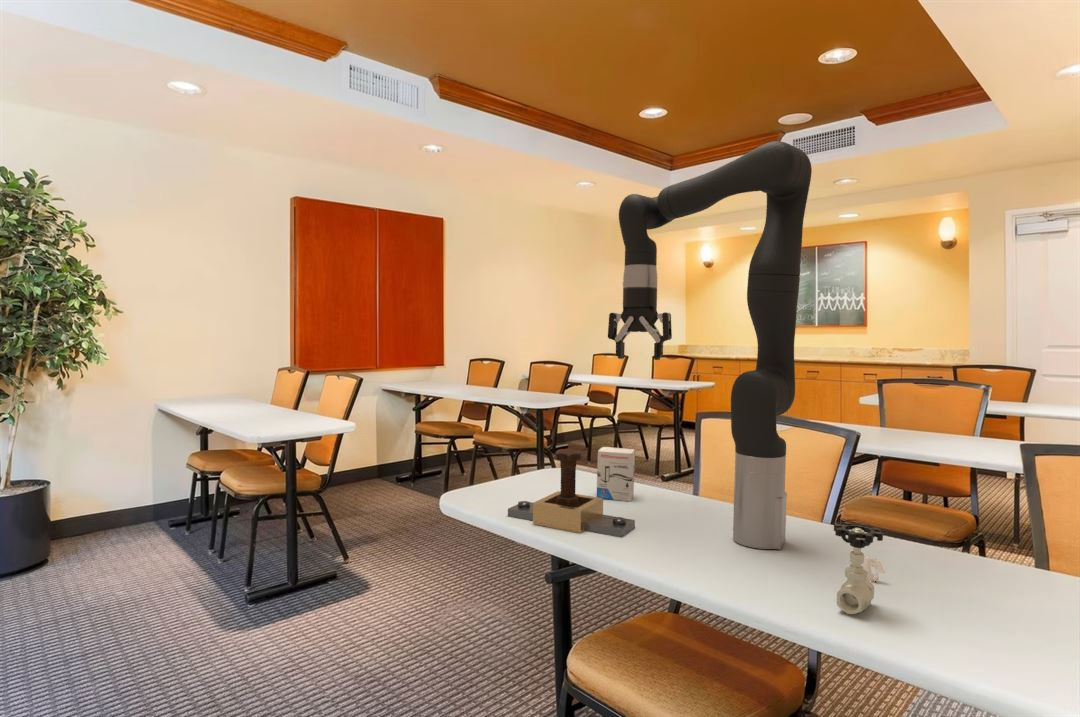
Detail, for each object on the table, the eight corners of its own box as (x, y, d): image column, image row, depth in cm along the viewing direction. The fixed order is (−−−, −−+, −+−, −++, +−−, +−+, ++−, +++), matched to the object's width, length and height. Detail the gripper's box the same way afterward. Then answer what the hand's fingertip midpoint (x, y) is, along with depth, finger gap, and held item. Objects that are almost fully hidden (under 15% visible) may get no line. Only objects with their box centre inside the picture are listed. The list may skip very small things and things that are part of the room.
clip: (885, 583, 102) (886, 560, 101) (880, 586, 100) (881, 563, 100) (853, 573, 105) (854, 551, 105) (848, 576, 104) (849, 554, 104)
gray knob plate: (634, 527, 129) (634, 516, 128) (621, 537, 122) (621, 525, 122) (594, 520, 133) (595, 509, 133) (580, 529, 127) (580, 517, 127)
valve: (885, 608, 92) (888, 528, 92) (873, 623, 87) (876, 539, 87) (838, 595, 97) (840, 518, 96) (824, 609, 92) (826, 528, 91)
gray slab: (555, 513, 138) (555, 502, 138) (539, 522, 132) (539, 510, 131) (524, 508, 142) (524, 497, 141) (507, 516, 136) (507, 505, 135)
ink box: (595, 498, 151) (596, 450, 150) (599, 493, 155) (600, 446, 155) (631, 501, 148) (632, 452, 147) (634, 496, 153) (635, 448, 152)
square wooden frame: (602, 518, 134) (603, 498, 134) (580, 533, 125) (580, 510, 124) (557, 511, 140) (557, 491, 139) (532, 524, 130) (533, 502, 130)
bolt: (580, 525, 129) (581, 453, 129) (555, 525, 129) (556, 453, 129) (578, 517, 135) (579, 448, 134) (555, 516, 135) (556, 448, 135)
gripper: (676, 287, 139) (674, 359, 140) (616, 288, 146) (615, 357, 147) (665, 284, 132) (664, 361, 133) (603, 286, 140) (602, 358, 140)
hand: (638, 359), depth 140 cm, fingers open, 8 cm apart
